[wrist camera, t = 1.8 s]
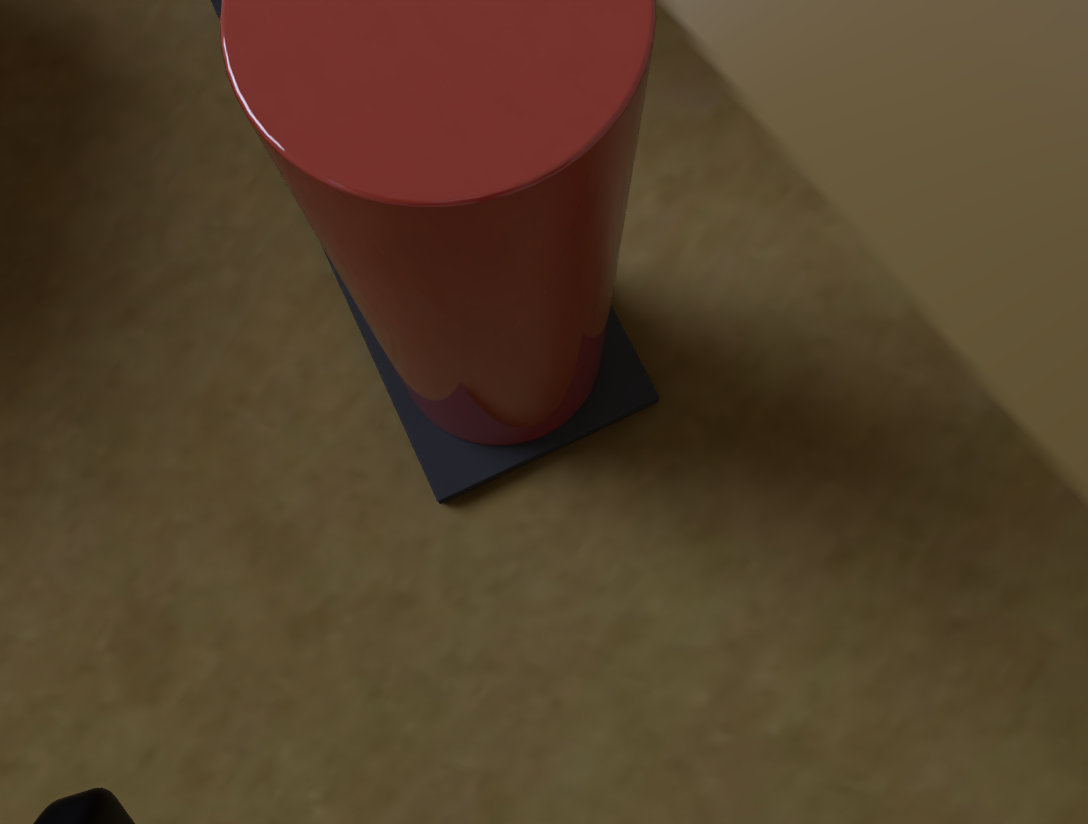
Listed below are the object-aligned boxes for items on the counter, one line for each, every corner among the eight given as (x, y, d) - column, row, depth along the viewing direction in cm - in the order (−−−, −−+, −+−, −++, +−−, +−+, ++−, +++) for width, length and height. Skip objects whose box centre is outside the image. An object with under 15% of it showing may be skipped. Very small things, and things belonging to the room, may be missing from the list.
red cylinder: (645, 353, 22) (749, 19, 10) (488, 489, 21) (406, 295, 9) (509, 212, 23) (462, -245, 11) (355, 337, 22) (129, -11, 10)
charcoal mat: (658, 401, 22) (660, 397, 22) (440, 504, 21) (437, 502, 21) (347, -192, 26) (343, -204, 26) (158, -118, 26) (151, -130, 25)
